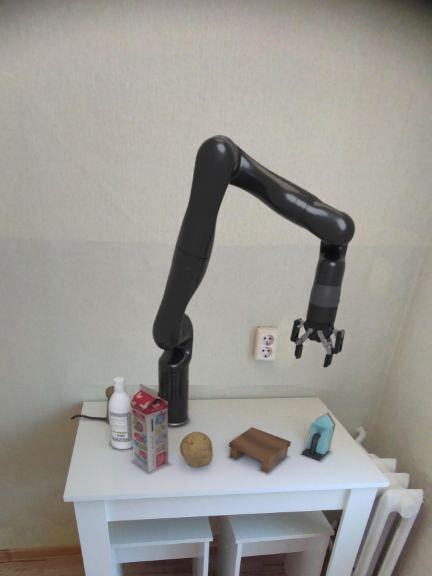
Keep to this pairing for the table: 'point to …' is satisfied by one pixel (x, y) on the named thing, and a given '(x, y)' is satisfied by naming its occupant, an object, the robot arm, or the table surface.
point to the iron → (320, 437)
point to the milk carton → (149, 429)
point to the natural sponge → (196, 449)
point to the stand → (260, 447)
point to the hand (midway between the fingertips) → (311, 362)
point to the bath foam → (120, 416)
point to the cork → (109, 393)
